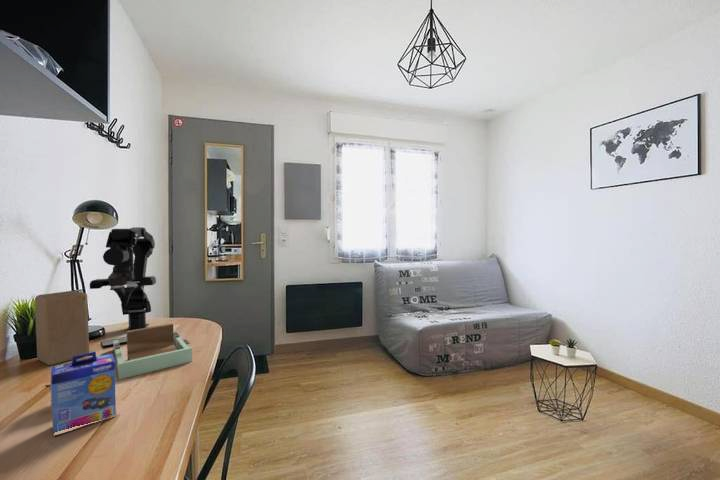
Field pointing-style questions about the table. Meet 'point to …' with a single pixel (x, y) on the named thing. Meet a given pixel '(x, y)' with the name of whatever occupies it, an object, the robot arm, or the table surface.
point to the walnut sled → (150, 341)
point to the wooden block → (61, 326)
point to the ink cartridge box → (83, 391)
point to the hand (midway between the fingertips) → (125, 305)
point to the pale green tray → (153, 359)
